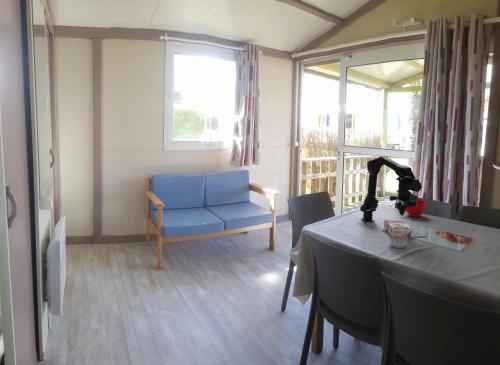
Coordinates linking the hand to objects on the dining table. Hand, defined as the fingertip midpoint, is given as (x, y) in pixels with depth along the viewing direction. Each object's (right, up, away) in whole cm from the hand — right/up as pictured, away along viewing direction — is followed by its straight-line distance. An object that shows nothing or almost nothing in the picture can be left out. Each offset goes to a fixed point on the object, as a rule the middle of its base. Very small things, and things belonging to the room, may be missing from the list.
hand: (401, 215), depth 225 cm
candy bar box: (-2, -6, +8) cm, 10 cm away
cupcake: (-11, -14, -23) cm, 30 cm away
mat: (+1, -10, -1) cm, 10 cm away
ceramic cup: (+23, -4, +41) cm, 47 cm away
